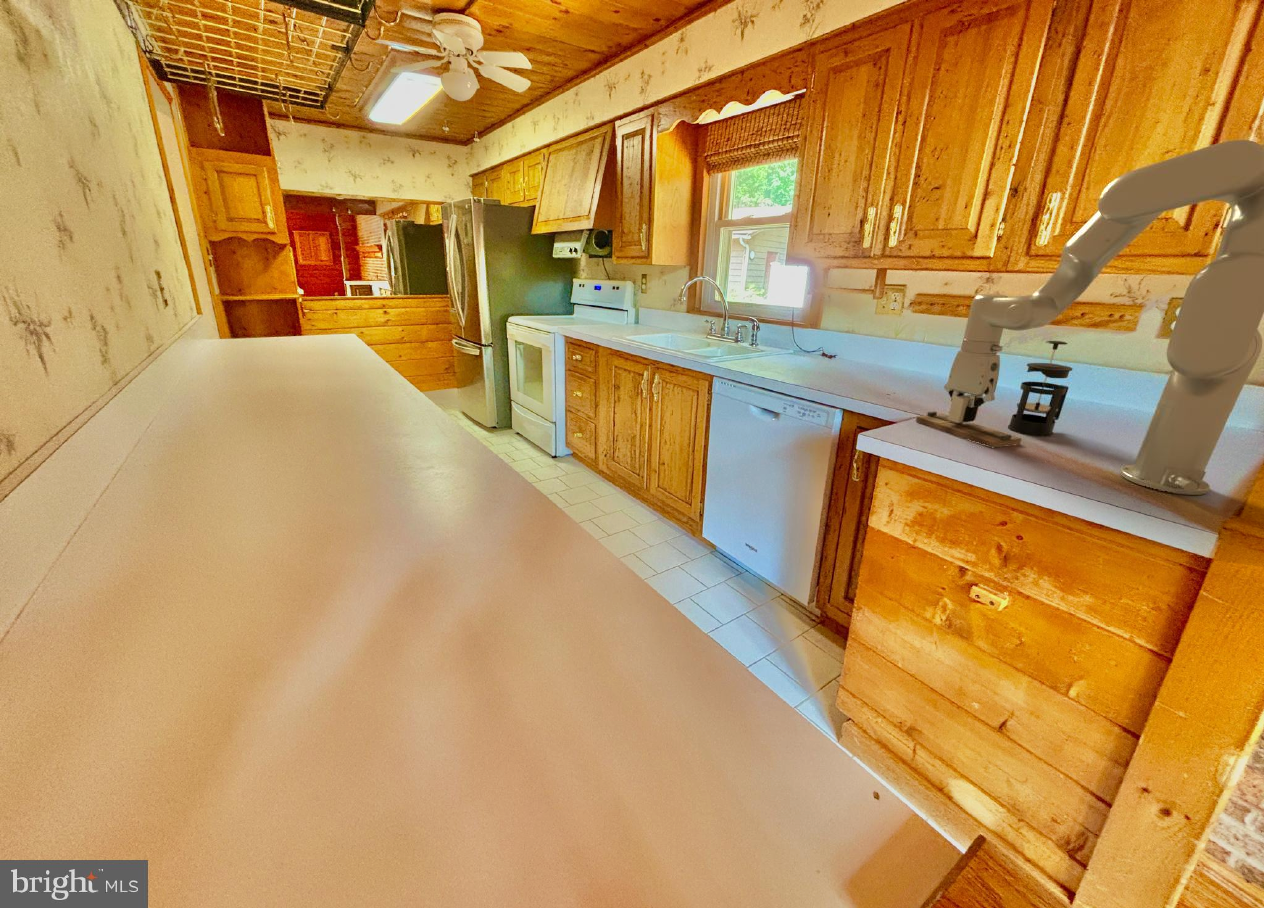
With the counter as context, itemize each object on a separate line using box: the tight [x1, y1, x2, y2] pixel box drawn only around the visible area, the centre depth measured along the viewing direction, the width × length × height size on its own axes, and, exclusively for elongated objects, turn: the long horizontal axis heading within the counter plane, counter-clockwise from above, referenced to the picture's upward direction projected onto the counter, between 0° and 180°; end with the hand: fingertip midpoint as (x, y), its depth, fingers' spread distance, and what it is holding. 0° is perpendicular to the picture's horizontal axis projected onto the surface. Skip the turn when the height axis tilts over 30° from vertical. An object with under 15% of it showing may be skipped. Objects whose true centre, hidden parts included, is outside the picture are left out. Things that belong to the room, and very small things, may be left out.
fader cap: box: [948, 394, 980, 423], centre depth 129 cm, size 3×6×7 cm, turn 109°
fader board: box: [915, 411, 1022, 448], centre depth 129 cm, size 22×9×2 cm, turn 19°
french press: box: [1007, 340, 1073, 438], centre depth 126 cm, size 12×9×23 cm
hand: (961, 418), depth 130 cm, fingers closed on fader cap, 3 cm apart
